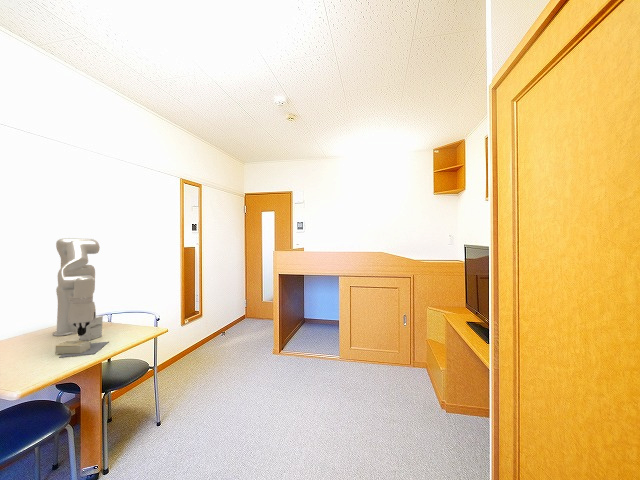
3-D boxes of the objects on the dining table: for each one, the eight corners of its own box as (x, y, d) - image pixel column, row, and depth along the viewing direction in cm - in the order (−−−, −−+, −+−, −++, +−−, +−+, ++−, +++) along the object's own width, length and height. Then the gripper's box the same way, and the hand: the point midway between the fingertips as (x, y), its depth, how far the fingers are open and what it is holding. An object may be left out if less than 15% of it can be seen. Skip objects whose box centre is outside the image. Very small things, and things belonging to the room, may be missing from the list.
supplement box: (88, 341, 141) (89, 319, 141) (78, 339, 143) (79, 318, 143) (102, 336, 148) (103, 315, 149) (92, 335, 150) (93, 314, 150)
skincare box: (66, 341, 129) (91, 340, 130) (66, 349, 129) (90, 348, 130) (54, 345, 123) (80, 345, 124) (54, 354, 123) (80, 353, 124)
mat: (77, 345, 135) (77, 344, 135) (108, 342, 140) (109, 341, 140) (58, 358, 120) (58, 357, 120) (94, 354, 125) (94, 353, 125)
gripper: (60, 302, 124) (58, 339, 123) (97, 301, 129) (95, 335, 128) (69, 299, 131) (67, 334, 130) (104, 298, 136) (102, 331, 135)
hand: (81, 334), depth 129 cm, fingers closed
